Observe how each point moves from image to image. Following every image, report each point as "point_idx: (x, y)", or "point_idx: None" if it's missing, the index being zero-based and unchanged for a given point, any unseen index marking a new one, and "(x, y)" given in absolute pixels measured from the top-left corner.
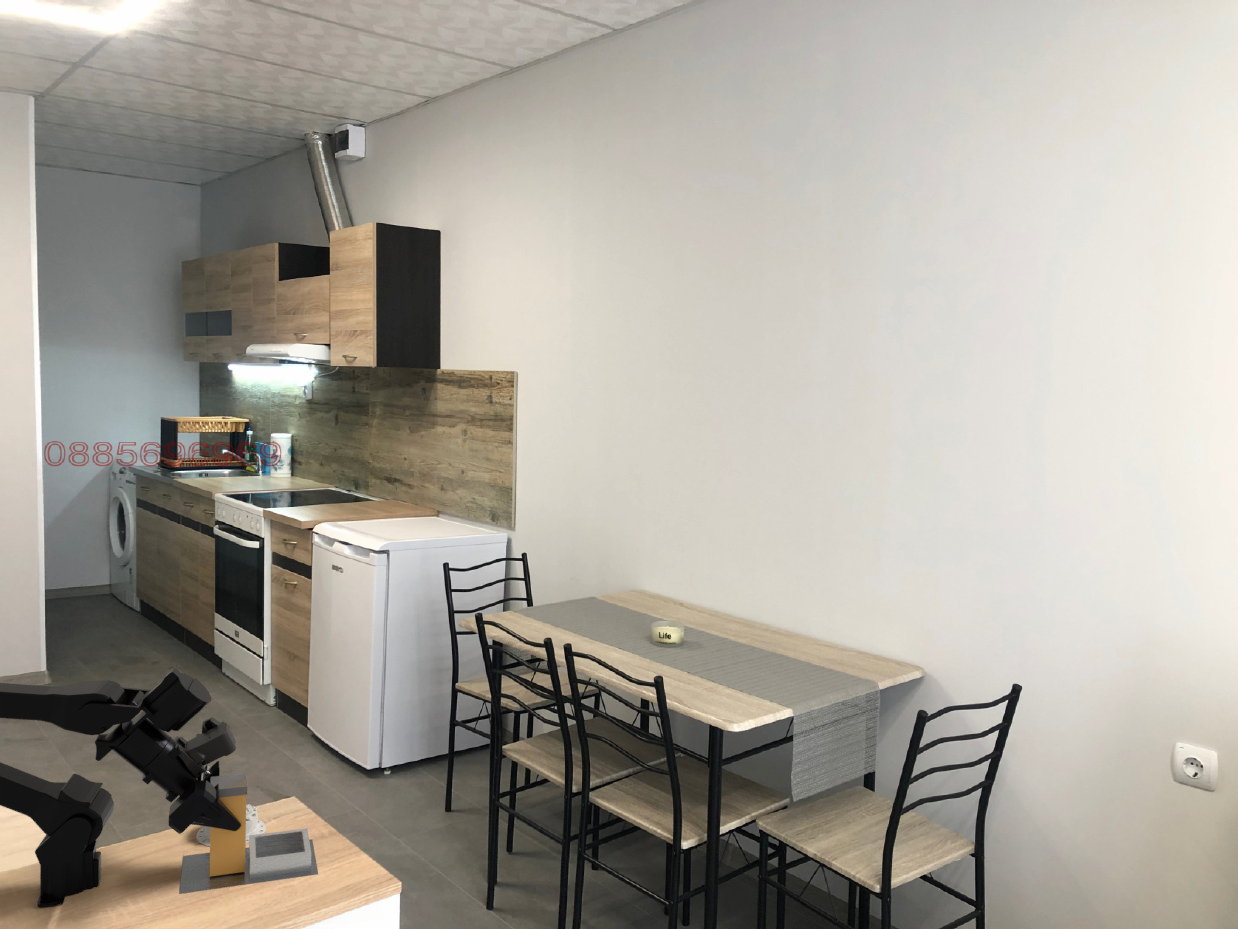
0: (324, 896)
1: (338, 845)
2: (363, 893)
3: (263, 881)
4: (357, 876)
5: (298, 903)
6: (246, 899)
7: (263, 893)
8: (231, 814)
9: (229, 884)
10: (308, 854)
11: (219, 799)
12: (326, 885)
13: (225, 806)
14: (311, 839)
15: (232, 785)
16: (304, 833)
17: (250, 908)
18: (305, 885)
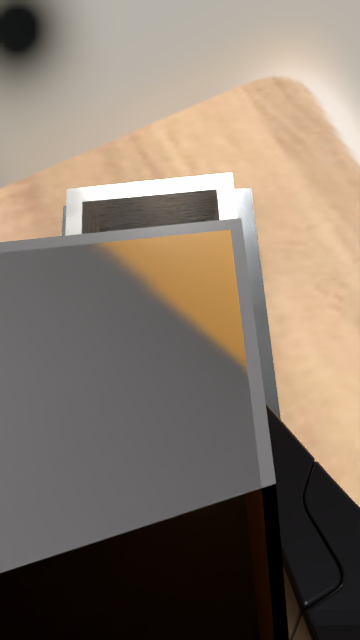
0: (322, 185)
1: (86, 162)
2: (321, 113)
3: (265, 311)
4: (243, 125)
5: (347, 236)
6: (309, 354)
7: (285, 315)
8: (273, 422)
9: (266, 401)
10: (231, 181)
11: (347, 631)
12: (271, 182)
13: (278, 492)
14: (63, 207)
15: (149, 478)
16: (98, 194)
17: (357, 342)
18: (263, 224)
